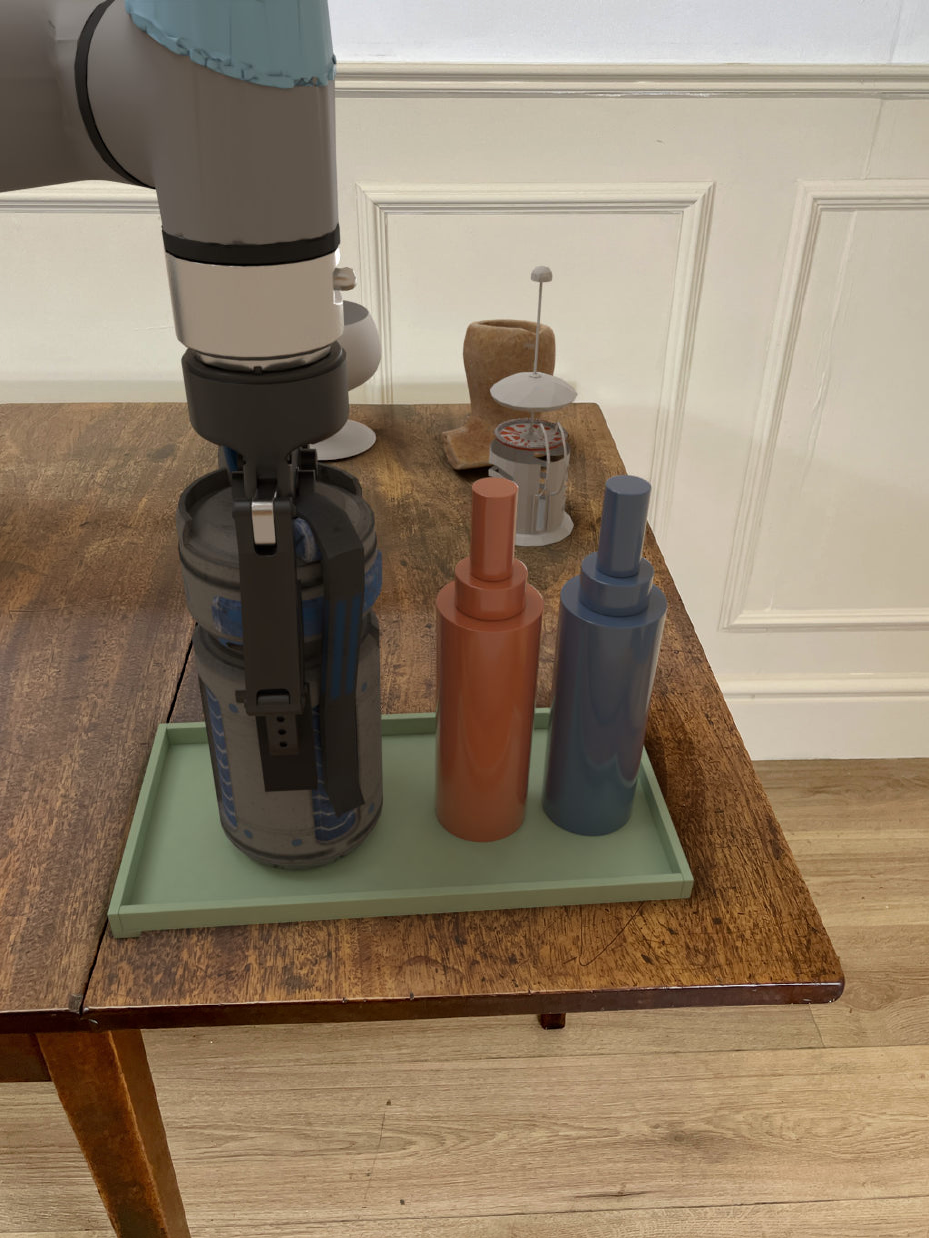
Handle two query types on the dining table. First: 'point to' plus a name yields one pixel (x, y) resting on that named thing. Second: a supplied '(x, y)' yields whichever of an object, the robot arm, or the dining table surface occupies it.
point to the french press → (534, 447)
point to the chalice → (354, 380)
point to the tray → (378, 849)
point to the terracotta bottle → (486, 676)
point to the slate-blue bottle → (604, 671)
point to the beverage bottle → (334, 666)
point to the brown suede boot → (486, 362)
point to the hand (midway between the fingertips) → (298, 705)
